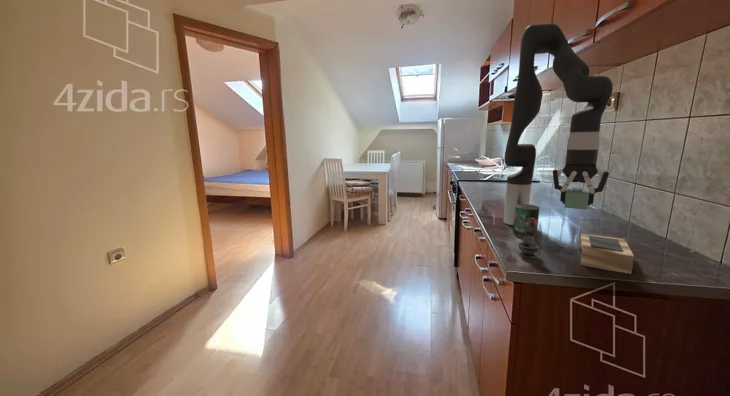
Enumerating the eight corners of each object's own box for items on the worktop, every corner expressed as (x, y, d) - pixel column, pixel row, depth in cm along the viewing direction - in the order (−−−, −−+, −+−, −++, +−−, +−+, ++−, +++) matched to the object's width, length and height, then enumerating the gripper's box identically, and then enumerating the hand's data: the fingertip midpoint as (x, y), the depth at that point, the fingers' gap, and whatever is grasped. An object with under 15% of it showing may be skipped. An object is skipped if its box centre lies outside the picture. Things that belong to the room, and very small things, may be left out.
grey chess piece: (535, 253, 95) (539, 216, 92) (540, 260, 89) (544, 221, 87) (515, 251, 96) (518, 215, 94) (518, 258, 91) (522, 220, 89)
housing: (565, 202, 96) (566, 186, 95) (586, 204, 93) (588, 187, 92) (564, 207, 89) (566, 189, 88) (587, 209, 86) (589, 191, 85)
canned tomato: (514, 230, 118) (517, 203, 116) (537, 233, 113) (540, 205, 111) (511, 236, 111) (513, 207, 109) (535, 239, 107) (538, 209, 105)
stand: (578, 247, 99) (580, 232, 98) (622, 254, 93) (624, 238, 92) (580, 265, 85) (583, 247, 84) (631, 274, 80) (634, 255, 78)
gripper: (612, 147, 87) (604, 204, 90) (554, 147, 95) (549, 200, 98) (615, 148, 81) (607, 209, 84) (552, 148, 89) (547, 204, 92)
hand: (575, 204), depth 91 cm, fingers closed on housing, 5 cm apart
